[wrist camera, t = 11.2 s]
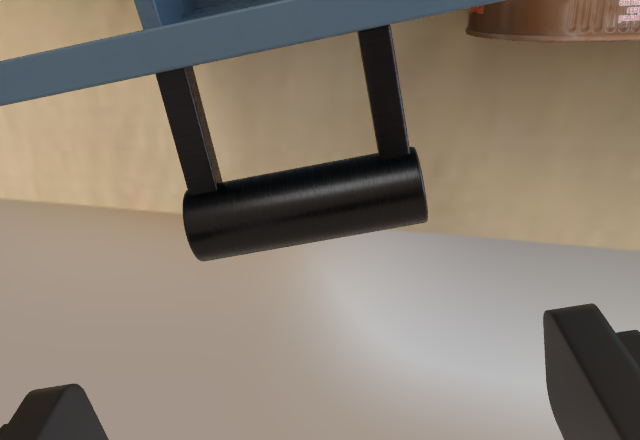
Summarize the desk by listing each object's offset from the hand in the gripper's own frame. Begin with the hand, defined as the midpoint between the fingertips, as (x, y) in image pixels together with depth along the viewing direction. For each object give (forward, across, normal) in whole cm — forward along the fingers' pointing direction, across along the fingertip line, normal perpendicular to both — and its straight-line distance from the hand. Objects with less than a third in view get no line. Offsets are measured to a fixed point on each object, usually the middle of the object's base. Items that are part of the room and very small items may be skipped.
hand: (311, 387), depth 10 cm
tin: (+29, -15, 0) cm, 33 cm away
